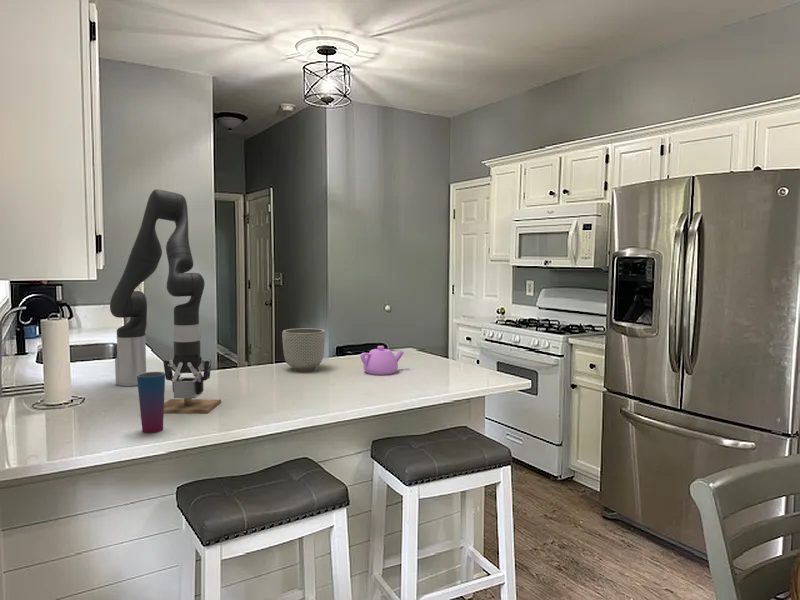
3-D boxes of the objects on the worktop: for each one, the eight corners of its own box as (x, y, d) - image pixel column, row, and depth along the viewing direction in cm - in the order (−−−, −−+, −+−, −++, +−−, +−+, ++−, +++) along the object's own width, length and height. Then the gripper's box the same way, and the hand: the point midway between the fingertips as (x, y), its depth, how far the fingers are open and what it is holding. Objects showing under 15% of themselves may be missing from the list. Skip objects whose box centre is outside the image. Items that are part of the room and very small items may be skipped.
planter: (273, 370, 226) (273, 330, 225) (306, 364, 240) (306, 326, 238) (301, 376, 215) (300, 335, 214) (334, 369, 228) (334, 330, 227)
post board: (153, 412, 164) (152, 389, 163) (170, 402, 176) (169, 380, 175) (207, 413, 164) (207, 389, 163) (221, 402, 176) (220, 380, 175)
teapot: (412, 372, 224) (412, 346, 223) (369, 378, 213) (369, 350, 212) (393, 366, 236) (393, 341, 235) (352, 371, 224) (352, 345, 224)
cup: (144, 426, 151) (142, 371, 150) (170, 425, 151) (168, 371, 150) (134, 434, 144) (132, 377, 143) (161, 433, 145) (160, 376, 144)
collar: (173, 398, 166) (173, 381, 166) (182, 393, 173) (181, 377, 172) (194, 398, 166) (194, 381, 166) (202, 393, 172) (201, 377, 172)
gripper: (157, 340, 164) (159, 396, 166) (206, 341, 164) (207, 397, 166) (168, 337, 172) (169, 390, 173) (214, 337, 172) (216, 391, 173)
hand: (188, 393), depth 169 cm, fingers closed on collar, 6 cm apart
